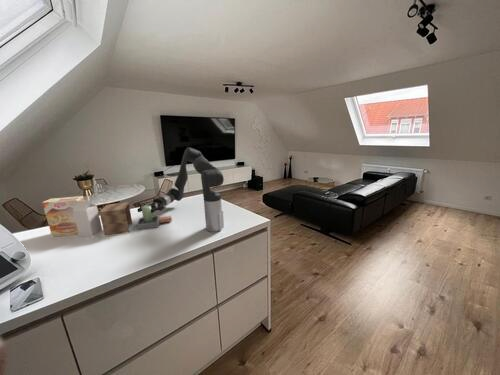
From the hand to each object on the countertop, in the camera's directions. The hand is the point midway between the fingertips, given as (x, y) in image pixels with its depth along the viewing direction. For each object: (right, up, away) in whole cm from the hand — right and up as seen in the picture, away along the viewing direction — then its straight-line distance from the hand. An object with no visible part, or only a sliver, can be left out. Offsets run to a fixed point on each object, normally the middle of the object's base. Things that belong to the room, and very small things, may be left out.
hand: (144, 211), depth 114 cm
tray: (+4, -8, +5) cm, 10 cm away
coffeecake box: (-38, -12, -4) cm, 40 cm away
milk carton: (-26, -12, -6) cm, 29 cm away
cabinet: (-14, -10, -1) cm, 17 cm away
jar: (0, -7, +4) cm, 8 cm away
